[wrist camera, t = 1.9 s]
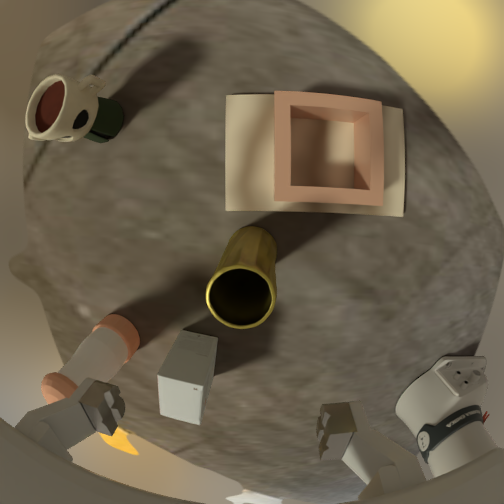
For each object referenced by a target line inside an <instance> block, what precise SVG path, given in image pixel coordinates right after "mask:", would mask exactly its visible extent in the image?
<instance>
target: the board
mask: <svg viewBox="0 0 504 504" xmlns="http://www.w3.org/2000/svg"><path fill="white" fill-rule="evenodd" d="M382 116H383V135H384V192H383V206H373V205H358V204H340V203H318V202H285V201H274V94H250V95H226V211H293V212H325V213H348V214H367V215H384V216H398V217H403V208H404V187H405V143H404V123H403V110H402V109H399V108H394V107H389V106H384V105H382ZM290 119H291V185H292V186H319V187H337V188H353V189H354V123H348V122H339V121H329V120H316V119H299V118H290Z"/></svg>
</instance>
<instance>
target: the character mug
mask: <svg viewBox="0 0 504 504" xmlns="http://www.w3.org/2000/svg"><path fill="white" fill-rule="evenodd" d="M90 84H92V85H94V86H93V87H90V86H88V85H90ZM105 85H106V83H105V81H103V80H102V79H100V78H98V77H96V76H94V75H89V76H87V77H85V78H84V79H83V80H82V81H81V82H79V81H76V80H74V79H72V78H69V77H67V76H64V75H61V74H54V75H50V76H48V77H47V78H46V79H44V80H43V81H42V82H41V83H40V84H39V85H38V87H37V88H36V89H35V91H34V92H33V94H32V96H31V99H30V101H29V103H28V107H27V111H26V127H27V130H28V132H29V138H30V139H31V140H40V141H43V140H58V141H61V142H70V141H75V140H78V139H80V138H82V137H84V138H87V139H89V140H92V141H95V142H98V143H103V142H108V141H109V140H107V139H104V137H107V136H108V135H110V136H113V137H114V136H116V135H117V133H118V131H119V130H120V128H121V126H122V122H123V118H124V116H123V112H122V108H121V106H120V105H119V104H118V102H117V101H113V100H110V99H106V98H102V97H98V96H97V93H98V92H99V91H100V90H102V89H103V88H104V87H105Z"/></svg>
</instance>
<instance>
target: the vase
mask: <svg viewBox="0 0 504 504" xmlns="http://www.w3.org/2000/svg"><path fill="white" fill-rule="evenodd" d="M276 257H277V245H276V243H275V240H274V238H273V237H272V236H271V235H270V234H269V233H268V232H267V231H265V230H264V229H262V228H259V227H254V226H249V227H244V228H241V229H239V230H238V231H236V232H235V233H234V234H233V235H232V237H231V238H230V240H229V242H228V245H227V247H226V249H225V251H224V253H223V256H222V258H221V260H220V262H219V264H218V266H217V268H216V270H215V272H214V274H213V276H212V277H211V279H210V281H209V282H208V285H207V288H206V303H207V306H208V308H209V310H210V312H211V313H212V314H213V316H214V317H215V318H216V319H217V320H219V321H220V322H221V323H223V324H225V325H226V326H229V327H232V328H237V329H246V328H252V327H256V326H258V325H259V324H261V323H263V322H264V321H265V320H266V319H267V318H268V316H269V315H270V314H271V312H272V311H273V309H274V305H275V301H276V297H277V287H276V275H275V260H276Z"/></svg>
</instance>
